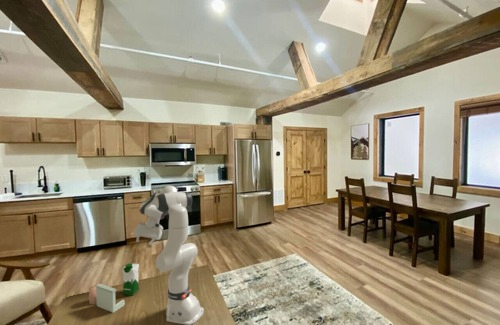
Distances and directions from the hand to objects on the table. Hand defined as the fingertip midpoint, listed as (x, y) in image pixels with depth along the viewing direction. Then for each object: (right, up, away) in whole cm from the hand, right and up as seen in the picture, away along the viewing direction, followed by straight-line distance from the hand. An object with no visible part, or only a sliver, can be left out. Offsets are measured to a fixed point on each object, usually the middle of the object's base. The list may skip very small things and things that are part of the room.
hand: (143, 243), depth 162 cm
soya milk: (-4, -31, -8) cm, 32 cm away
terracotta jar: (-22, -31, -18) cm, 42 cm away
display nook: (-10, -31, -22) cm, 39 cm away
